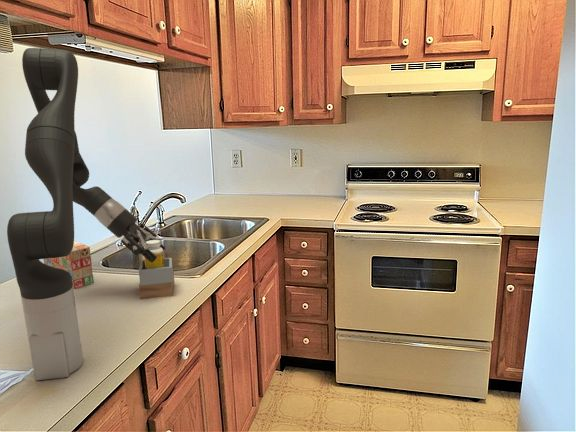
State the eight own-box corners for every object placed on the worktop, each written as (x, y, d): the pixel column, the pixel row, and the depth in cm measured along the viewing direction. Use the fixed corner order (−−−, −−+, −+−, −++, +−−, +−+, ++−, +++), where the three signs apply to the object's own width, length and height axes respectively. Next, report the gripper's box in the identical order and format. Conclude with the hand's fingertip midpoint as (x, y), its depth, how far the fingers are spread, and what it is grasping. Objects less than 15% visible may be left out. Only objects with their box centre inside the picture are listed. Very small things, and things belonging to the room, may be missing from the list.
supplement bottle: (144, 272, 129) (141, 240, 127) (163, 269, 131) (160, 238, 129) (147, 277, 124) (144, 244, 122) (166, 274, 126) (164, 242, 124)
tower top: (173, 282, 125) (171, 267, 124) (140, 285, 122) (138, 270, 121) (172, 271, 133) (171, 257, 132) (142, 274, 131) (140, 260, 130)
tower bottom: (172, 297, 125) (171, 282, 124) (140, 299, 124) (138, 285, 123) (174, 285, 134) (173, 271, 133) (144, 287, 132) (143, 273, 131)
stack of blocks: (45, 274, 145) (39, 238, 142) (64, 268, 149) (59, 234, 146) (74, 289, 131) (69, 251, 128) (94, 283, 136) (89, 246, 133)
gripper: (114, 214, 116) (160, 254, 119) (132, 203, 130) (173, 239, 133) (97, 233, 117) (143, 272, 120) (117, 220, 131) (158, 256, 134)
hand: (159, 255), depth 126 cm, fingers open, 8 cm apart
